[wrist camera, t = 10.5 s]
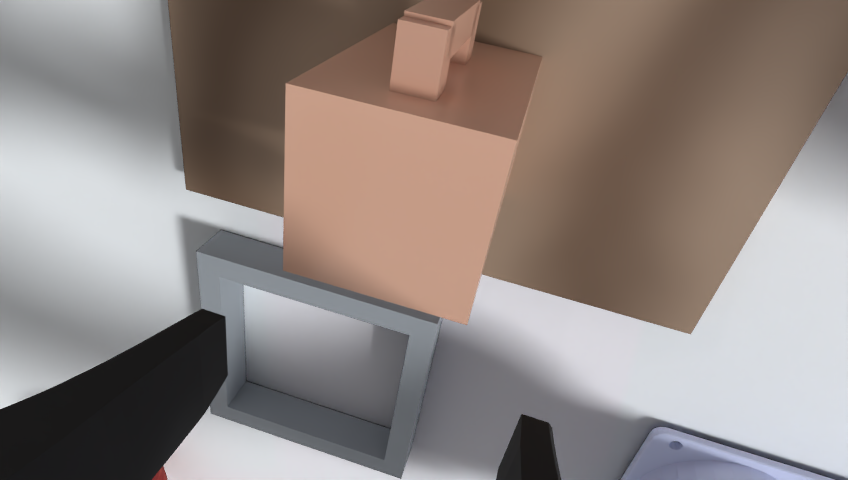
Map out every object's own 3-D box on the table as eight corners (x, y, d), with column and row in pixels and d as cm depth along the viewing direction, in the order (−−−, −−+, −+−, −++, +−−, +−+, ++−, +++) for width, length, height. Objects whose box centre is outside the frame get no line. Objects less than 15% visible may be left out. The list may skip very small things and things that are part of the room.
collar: (447, 296, 22) (437, 324, 21) (410, 448, 28) (400, 478, 26) (220, 230, 24) (196, 251, 22) (229, 388, 29) (210, 413, 28)
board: (893, -42, 13) (914, -39, 12) (686, 316, 20) (690, 334, 19) (172, -180, 16) (149, -185, 15) (200, 179, 22) (186, 189, 22)
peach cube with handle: (504, 193, 18) (466, 325, 12) (376, 160, 19) (282, 270, 13) (557, 1, 15) (539, 58, 9) (399, -32, 15) (287, 0, 10)
